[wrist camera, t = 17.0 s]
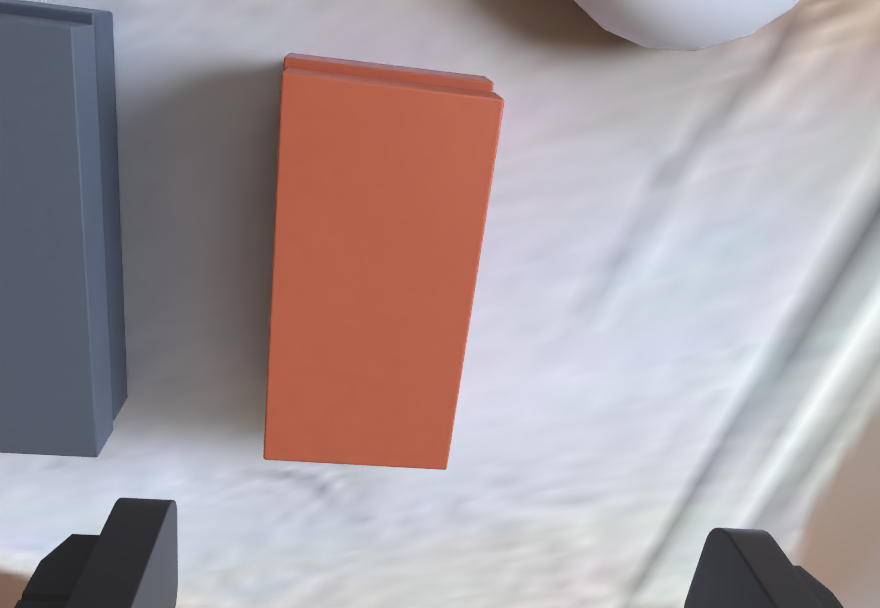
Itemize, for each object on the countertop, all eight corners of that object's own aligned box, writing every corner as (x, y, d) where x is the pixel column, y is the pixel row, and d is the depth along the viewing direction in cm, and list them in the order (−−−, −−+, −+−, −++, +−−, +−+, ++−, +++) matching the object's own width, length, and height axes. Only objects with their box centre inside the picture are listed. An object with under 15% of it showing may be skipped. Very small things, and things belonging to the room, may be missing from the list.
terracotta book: (286, 66, 22) (281, 71, 20) (496, 92, 22) (505, 99, 21) (268, 434, 26) (262, 460, 25) (442, 444, 27) (446, 470, 26)
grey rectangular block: (-72, -12, 23) (-146, -12, 20) (113, 11, 24) (71, 15, 20) (-21, 395, 28) (-72, 449, 25) (128, 404, 29) (97, 457, 26)
